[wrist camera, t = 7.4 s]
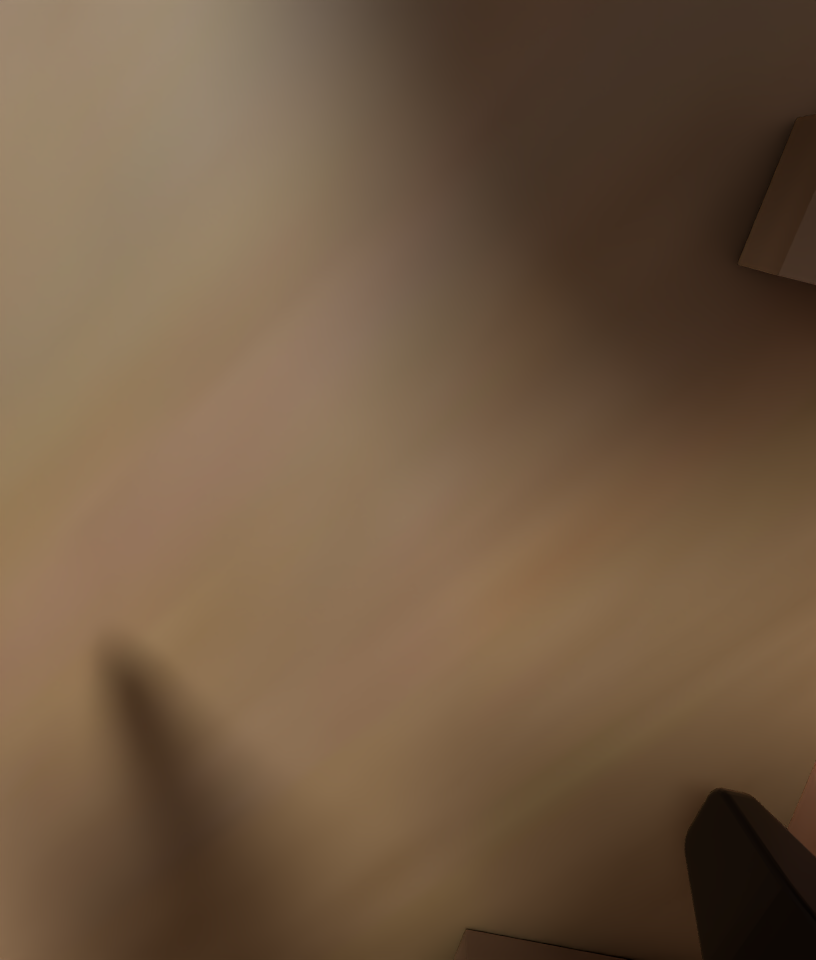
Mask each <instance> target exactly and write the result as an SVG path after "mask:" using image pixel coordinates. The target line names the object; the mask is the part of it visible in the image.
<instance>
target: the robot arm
mask: <svg viewBox="0 0 816 960" xmlns="http://www.w3.org/2000/svg"><path fill="white" fill-rule="evenodd" d="M685 857H686V863H687V869H688V875H689V881H690V887H691V893H692V899H693V905H694V911H695V917H696V923H697V929H698V935H699V941H700V947H701V953H702V959H703V960H816V857H815V856H814V855H813V854H812V853H811V852H810V851H809V850H808V849H807V848H806V847H805V846H804V845H803V844H802V843H801V842H800V841H799V840H798V839H797V838H796V837H795V836H794V835H793V834H791V833H790V832H789V831H788V830H787V829H786V828H785V827H784V826H783V825H782V824H781V823H780V822H779V821H778V820H777V819H776V818H775V817H774V816H773V815H772V814H771V813H770V812H769V811H768V810H767V809H766V808H764V807H763V806H762V805H761V804H760V803H759V802H758V801H757V800H756V799H755V798H754V797H752V796H751V795H749V794H746V793H743V792H738V791H734V790H729V789H724V788H716V789H715V790H713V791H711V792H710V794H709V795H708V797H707V799H706V800H705V802H704V804H703V805H702V807H701V809H700V811H699V812H698V814H697V816H696V817H695V819H694V821H693V823H692V824H691V826H690V828H689V829H688V832H687V835H686V838H685Z"/></svg>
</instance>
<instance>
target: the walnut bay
mask: <svg viewBox="0 0 816 960" xmlns="http://www.w3.org/2000/svg"><path fill="white" fill-rule="evenodd" d="M737 265H740V266H744V267H748V268H751V269H755V270H759V271H763V272H766V273H770V274H774V275H778V276H782V277H786V278H790V279H794V280H798V281H802V282H806V283H810V284H814V285H816V114H815V115H809V116H804V117H799V118H797V119H796V122H795V124H794V126H793V129H792V131H791V134H790V136H789V139H788V141H787V144H786V146H785V148H784V151H783V153H782V156H781V158H780V161H779V163H778V166H777V168H776V171H775V173H774V175H773V178H772V180H771V183H770V185H769V188H768V190H767V193H766V195H765V197H764V200H763V202H762V205H761V207H760V210H759V212H758V215H757V217H756V219H755V222H754V224H753V227H752V229H751V232H750V234H749V237H748V239H747V242H746V244H745V246H744V249H743V251H742V254H741V256H740V259H739V261H738V264H737ZM453 960H626V959H621V958H616V957H610V956H605V955H600V954H594V953H589V952H584V951H578V950H573V949H568V948H563V947H557V946H552V945H547V944H541V943H536V942H531V941H526V940H520V939H515V938H510V937H504V936H499V935H494V934H488V933H483V932H478V931H473V930H467V929H466V930H465V932H464V935H463V937H462V940H461V942H460V945H459V947H458V949H457V952H456V954H455V957H454V959H453Z"/></svg>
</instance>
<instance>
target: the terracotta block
mask: <svg viewBox="0 0 816 960" xmlns="http://www.w3.org/2000/svg"><path fill="white" fill-rule="evenodd" d="M787 830H788V831H789V832H790V833H791V834H793V835H794V836H795V837H796V838H797V839H798V840H799V841H800V842H801V843H802V844H803V845H804V846H805V847H806V848H807V849H808V850H809V851H810V852H811V853H812V854H813V855H814V856H815V857H816V762H815V764H814V767H813V769H812V771H811V774H810V776H809V778H808V781H807V783H806V786H805V788H804V790H803V793H802V795H801V798H800V800H799V802H798V805H797V807H796V810H795V812H794V814H793V817H792V819H791V821H790V824H789V826H788V829H787Z"/></svg>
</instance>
